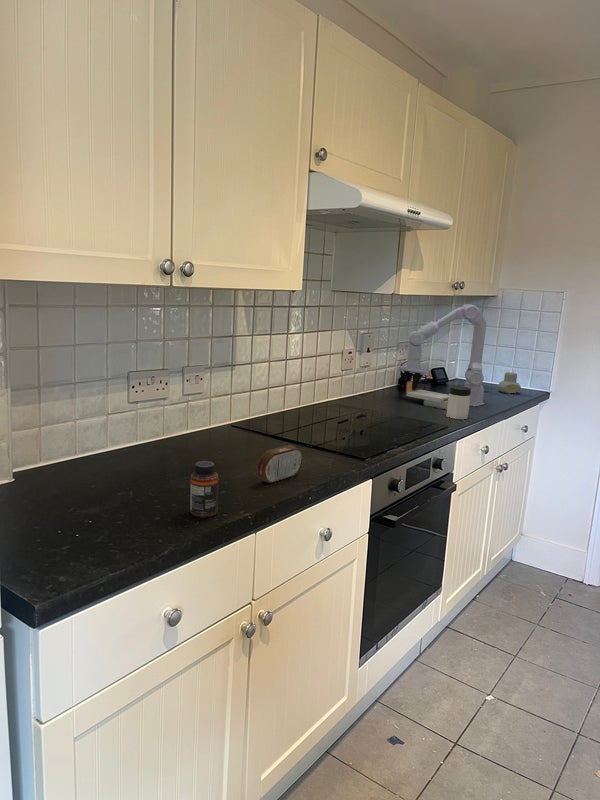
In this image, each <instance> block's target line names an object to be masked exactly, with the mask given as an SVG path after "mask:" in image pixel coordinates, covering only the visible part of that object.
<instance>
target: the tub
mask: <svg viewBox="0 0 600 800" xmlns="http://www.w3.org/2000/svg"><path fill="white" fill-rule="evenodd" d="M423 406H425V407H429V408H430V407H431V408H434V407H435V408H434V409H440V410H444V409H445V410H446V411H447V406H448V399H445V400H441V402H436V401H430V400H425V399H423Z"/></svg>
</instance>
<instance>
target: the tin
mask: <svg viewBox="0 0 600 800" xmlns="http://www.w3.org/2000/svg"><path fill="white" fill-rule="evenodd" d="M303 458H304V455H303V452H302V450H301V449H299V448H298V447H296V446H294V445H291V444H289V445H285V446H280V447H275V448H271V449H269V450H266V451H265V452H264V453H263V454H262V455H261V456H260V458H259V460H258V463H257V468H256V475H257V477H258V478H259V480H261V481H262V482H265V483H268V484H274V483H277V482H276V481H278V482H280V481H279V480H281V481H284V480H286V478H288V479H290V478H289V477H291V478H293V477H295V476H296V475H297V474H298V473H299V472H300V470H301V468H302V464H303ZM292 476H293V477H292ZM283 479H284V480H283ZM273 482H274V483H273Z"/></svg>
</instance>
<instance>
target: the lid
mask: <svg viewBox="0 0 600 800" xmlns="http://www.w3.org/2000/svg"><path fill="white" fill-rule="evenodd" d="M412 385H413V380H411V381H408V382H407V389H405V390H406V391H405V392H406V395H405V396H406V397H411V398H416V399H420V400H424V399H425V400H430V401H436V402H441V400H445V399H448V397H449V394H446V393H440V392H435V391H430V390H424V389H416V390H412Z"/></svg>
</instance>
